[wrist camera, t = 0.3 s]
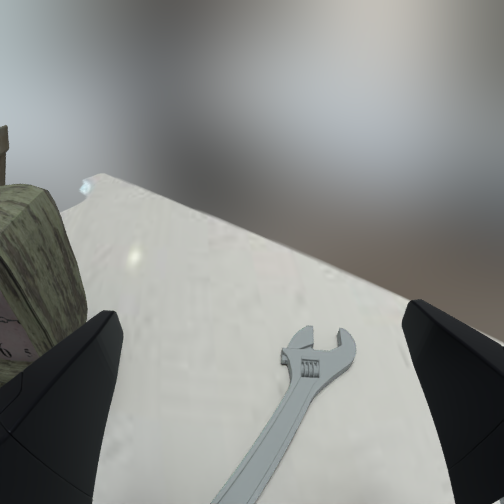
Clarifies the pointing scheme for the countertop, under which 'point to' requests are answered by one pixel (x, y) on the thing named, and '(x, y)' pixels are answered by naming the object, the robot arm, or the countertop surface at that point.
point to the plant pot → (3, 152)
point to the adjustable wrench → (288, 412)
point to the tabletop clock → (35, 279)
